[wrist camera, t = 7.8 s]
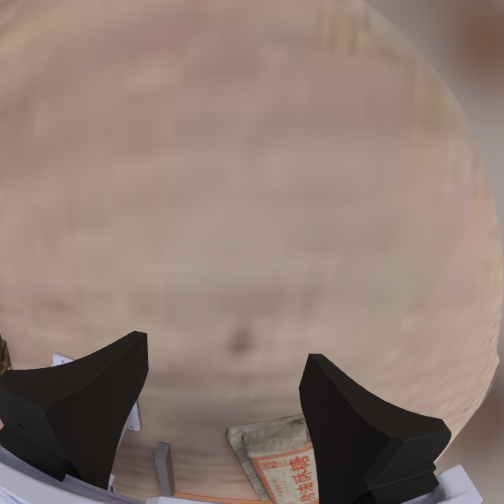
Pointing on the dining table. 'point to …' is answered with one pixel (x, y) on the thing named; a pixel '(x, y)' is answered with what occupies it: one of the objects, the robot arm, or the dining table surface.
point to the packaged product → (278, 459)
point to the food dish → (3, 356)
